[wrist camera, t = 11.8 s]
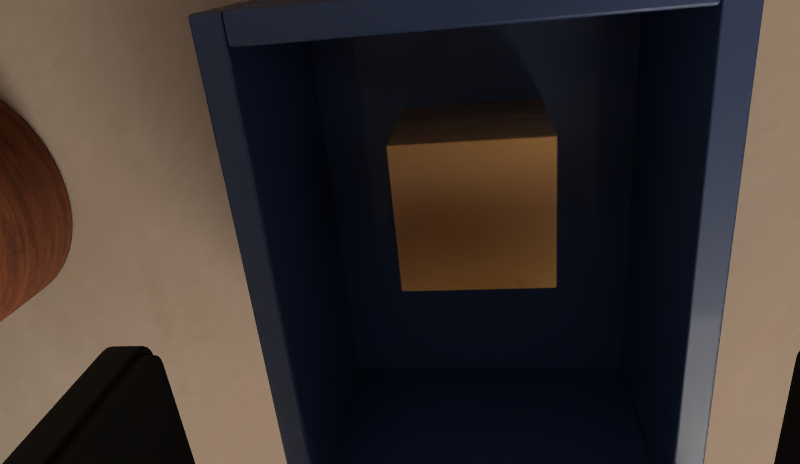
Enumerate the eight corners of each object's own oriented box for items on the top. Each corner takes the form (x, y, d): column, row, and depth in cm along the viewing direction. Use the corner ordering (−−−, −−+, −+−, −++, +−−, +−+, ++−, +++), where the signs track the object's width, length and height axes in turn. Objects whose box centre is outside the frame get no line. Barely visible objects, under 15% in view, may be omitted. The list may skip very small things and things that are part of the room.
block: (404, 107, 21) (385, 145, 17) (543, 97, 21) (557, 135, 16) (416, 230, 23) (401, 292, 19) (543, 225, 22) (556, 288, 18)
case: (286, -8, 21) (186, 15, 14) (665, -46, 19) (770, -42, 12) (346, 373, 27) (298, 521, 20) (636, 372, 25) (695, 534, 18)
